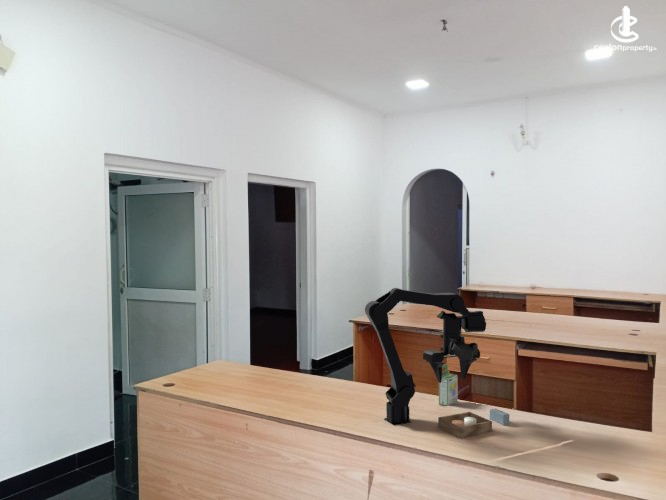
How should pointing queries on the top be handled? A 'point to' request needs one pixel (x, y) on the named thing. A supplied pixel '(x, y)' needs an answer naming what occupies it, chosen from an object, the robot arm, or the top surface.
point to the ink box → (448, 388)
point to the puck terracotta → (458, 423)
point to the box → (464, 431)
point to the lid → (499, 416)
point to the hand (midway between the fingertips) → (451, 381)
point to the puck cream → (469, 421)
